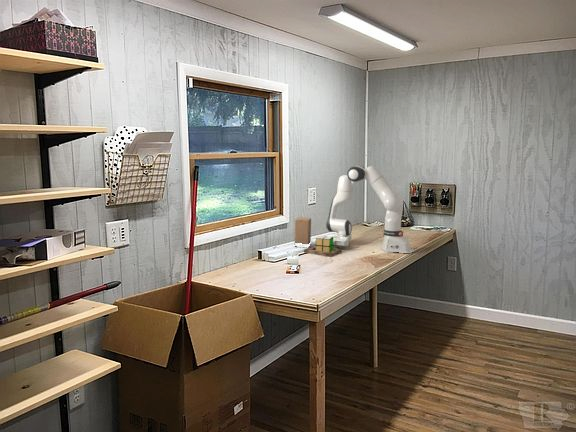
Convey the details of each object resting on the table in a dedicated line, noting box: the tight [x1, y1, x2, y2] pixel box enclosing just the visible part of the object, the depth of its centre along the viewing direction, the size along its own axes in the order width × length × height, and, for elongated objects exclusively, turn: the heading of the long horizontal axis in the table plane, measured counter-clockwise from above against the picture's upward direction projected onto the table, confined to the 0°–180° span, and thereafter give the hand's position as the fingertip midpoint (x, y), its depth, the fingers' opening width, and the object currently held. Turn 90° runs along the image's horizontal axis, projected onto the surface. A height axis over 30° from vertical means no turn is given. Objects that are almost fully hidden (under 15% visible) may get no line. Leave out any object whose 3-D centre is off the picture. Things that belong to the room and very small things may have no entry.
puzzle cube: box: [315, 235, 334, 252], centre depth 342 cm, size 10×10×10 cm
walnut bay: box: [303, 245, 343, 258], centre depth 340 cm, size 20×17×2 cm
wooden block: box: [294, 216, 312, 244], centre depth 357 cm, size 10×10×20 cm
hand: (328, 243), depth 347 cm, fingers closed
